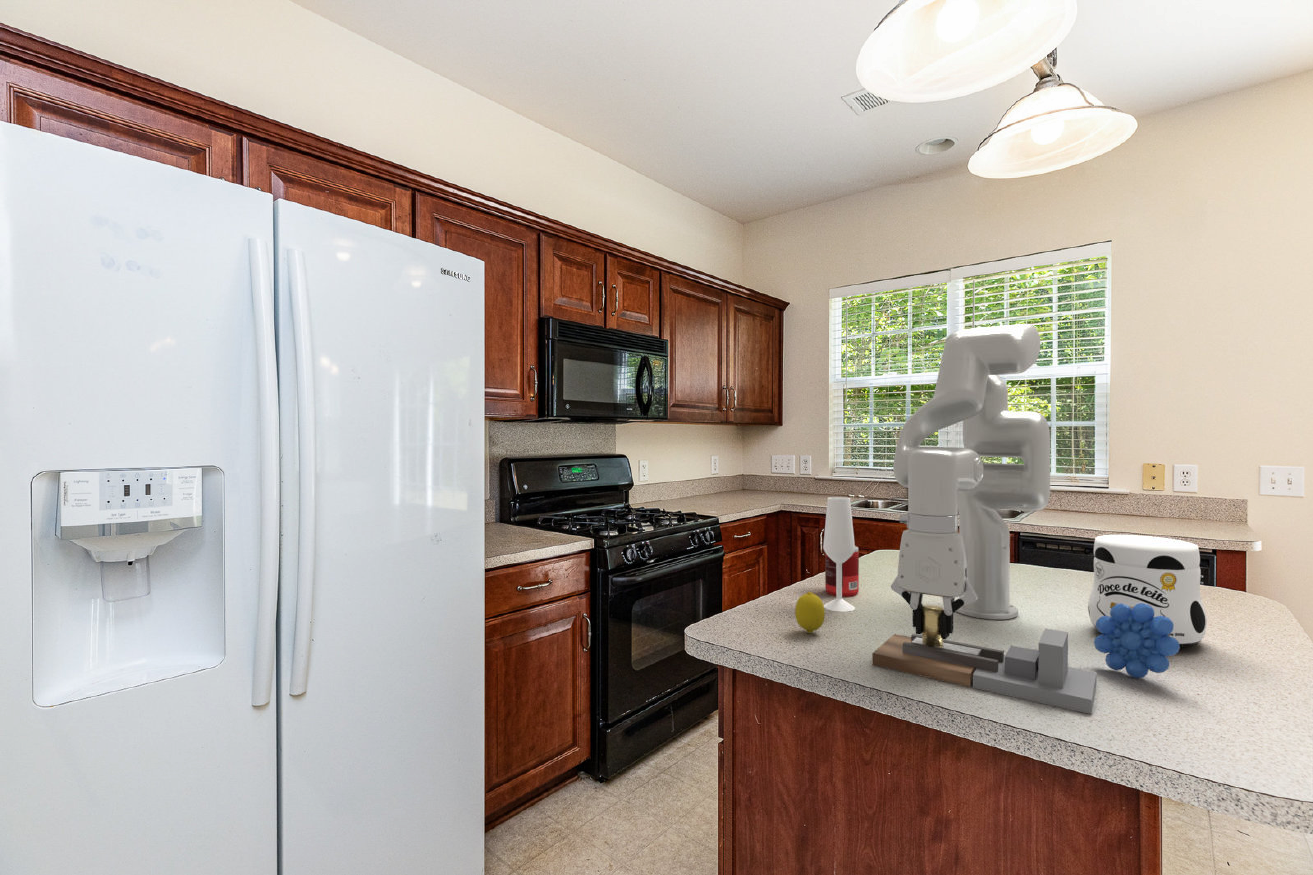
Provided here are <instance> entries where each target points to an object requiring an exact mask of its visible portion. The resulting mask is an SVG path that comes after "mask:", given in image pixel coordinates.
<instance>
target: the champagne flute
mask: <svg viewBox="0 0 1313 875" xmlns="http://www.w3.org/2000/svg"><path fill="white" fill-rule="evenodd" d="M851 504H852V503H851V498H850V497H847V496H845V497H844V496H830V497H827V503H826V513H825V524H824V525H825V526H824V536H823V545H822V546H823V552H824V554H825V553H826V554H827V555H828V556H829V557H830V558H831V560H832V561H834V562H835V563H836V596H835V597H836V598H835V599H832V600H831V601H829V602H827V603H825V604H823V605H824V609H825V610H829V611H832V612H833V611H834V612H839V613H840V612H841V613H842V612H843V613H844V612H845V613H846V612H847V613H848V612H852V611H854V610H855V609H856V607H855V606H854V605H852V604H851V603H849V602H847V601H846V600H844V599H843V597H842V563H844V562H845V561H846V560H848V559H849V558H850V557H851V556H852V554H853V553H854V551H855V546H856V545H855V534H854V526H853V524H854V523H853V513H852V506H851Z"/></svg>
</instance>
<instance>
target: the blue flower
mask: <svg viewBox="0 0 1313 875" xmlns="http://www.w3.org/2000/svg"><path fill="white" fill-rule="evenodd" d="M1110 615H1111V617H1110V616H1102V617H1100V618H1099V619H1098V620H1097V621H1096V627H1095V629H1096V630H1097V631H1098V632H1099V633H1100V634H1098V636H1097V637H1095V638H1094V641H1093V644H1094V646H1093V647H1095V649H1096V650H1097V651H1099V652H1100V653H1102V654H1106V655H1105V659H1104V660H1105V664H1106V665H1107V667H1109V668H1110V669H1111V670H1114V671H1121V670H1123V669H1125V672H1126V674H1127V675H1129V676H1130V677H1131V678H1135V679H1143V678H1145V677H1146V676H1147V675H1148V674H1149V671H1150V672H1152V673H1156V674H1162V673H1165V672H1166V671H1168V669H1170V668H1169V667H1170V660H1169V658H1168V657H1173V656H1174V655H1176V654H1178V653H1179V652H1180V648H1181V647H1180V644H1179V642H1178V641H1177V640H1176V639H1175V638H1173V637H1170V636H1167V635H1168V634H1170V633H1171V632H1172V631H1173V628H1174V626H1173V622H1172V621H1171V620H1170V619H1169V618H1167V617H1164V616H1156V617H1154V615H1155V613H1154V609H1153V608H1152V607H1151V606H1150V605H1148V604H1144V603H1140V604H1137V605H1135V606H1134V607H1133V608H1132V610H1131V608H1130V607H1129V606H1128V605H1125V604H1122V603H1120V604H1116V605H1115V606H1113V607H1112V608H1111V610H1110Z"/></svg>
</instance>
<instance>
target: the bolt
mask: <svg viewBox="0 0 1313 875" xmlns="http://www.w3.org/2000/svg"><path fill="white" fill-rule="evenodd" d="M943 610H944V607H941V606H938V605H930V604H929V605H928V604H927V605H923V606H922V633H921V634H922V638H918V637H916V638H915V639H914V640H913V641H912V642H911V643H913V644H918V645H924V646H929V647H934V648H939V649H944V650H949V651H954V652H959V653H964V654H969V655H975V656H980V657H981V649H976V648H970V647H965V646H960V645H955V644H949V643H944V642H943V640H944V639H942V638H941V615H942V614H943Z"/></svg>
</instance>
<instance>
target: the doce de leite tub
mask: <svg viewBox="0 0 1313 875" xmlns="http://www.w3.org/2000/svg"><path fill="white" fill-rule="evenodd" d="M1093 556H1094V558H1093V584H1092V588H1091V590H1090V593H1089V597H1088V601H1087V610H1088V615H1089V618H1090V622H1091V624H1092V626H1094V627H1095V628H1096V621H1097V620H1098V619H1099V618H1100V617H1102V616H1110V617H1111V615H1110V610H1111V608H1112V607H1113V606H1115V605H1116V604H1120V603H1122V604H1125V605H1128V606H1129V607H1130V608H1131V610H1132V608H1133V607H1134V606H1135V605H1137V604H1140V603H1144V604H1148V605H1150V606H1151V607H1152V608H1153V609H1154V613H1155V615H1154V617H1156V616H1164V617H1167V618H1169V619H1170V620H1171V621H1172V622H1173V626H1174V628H1173V631H1172V632H1171V633H1170V634H1168V635H1167V636H1170V637H1173V638H1175V639H1176V640H1177V641H1178V642H1179V644H1180V648H1183V647H1191V646H1193V645H1197V644H1198V643H1199V644H1200V642H1202V641H1203V639H1204V637H1205V634H1206V630H1207V626H1208V625H1207V624H1208V619H1207V614H1206V613H1207V612H1206V609H1205V607H1204V603H1203V600H1202V596H1201V573H1202V572H1201V570H1202V569H1201V567H1200V564H1201V556H1200V549H1199V545H1198V544H1195V543H1193V542H1189V541H1187V540H1186V541H1184V540H1180V539H1173V538H1167V537H1160V536H1159V537H1158V536H1151V535H1137V534H1136V535H1135V534H1134V535H1133V534H1104V535H1098V536H1096V537H1095V538H1094V543H1093Z"/></svg>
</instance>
